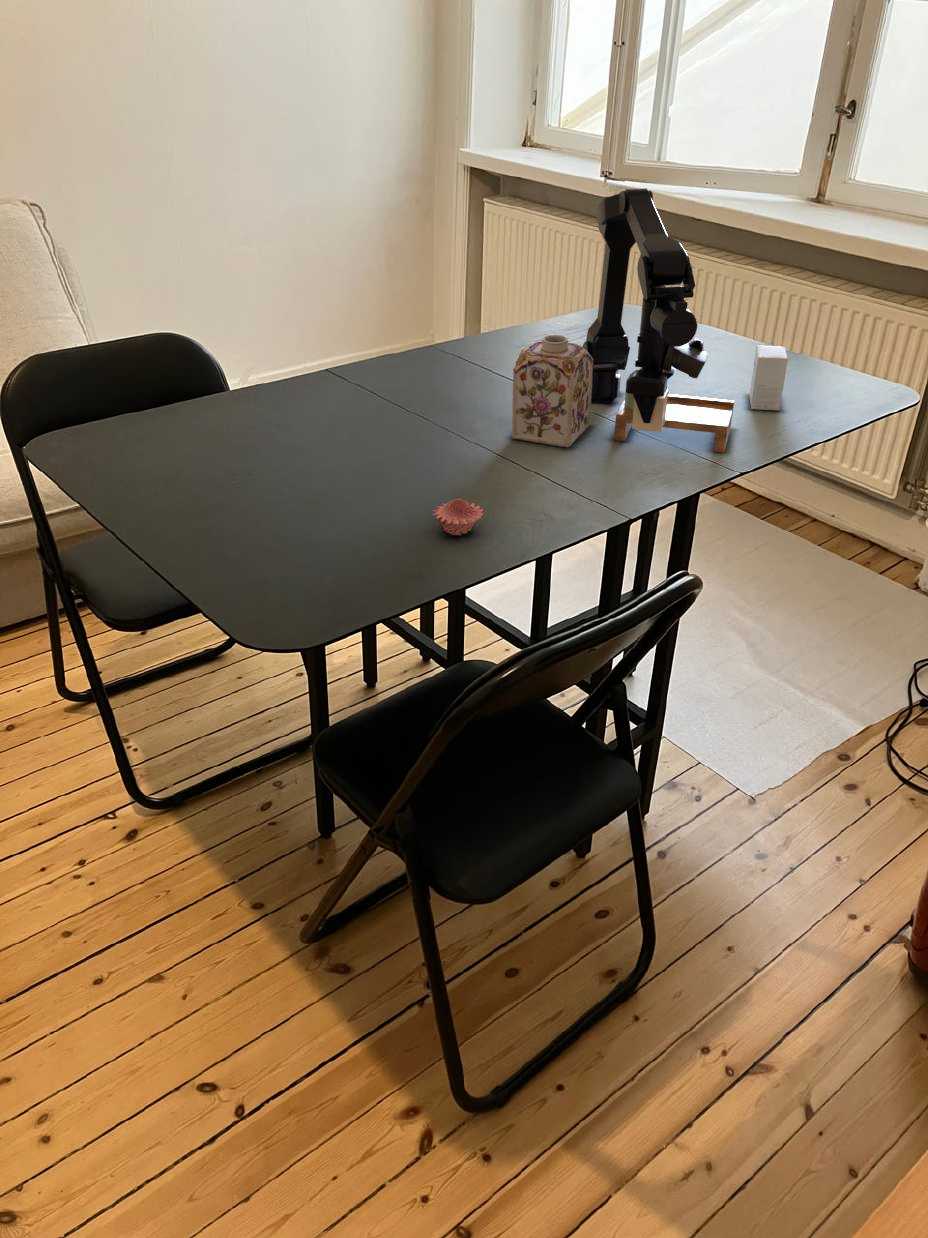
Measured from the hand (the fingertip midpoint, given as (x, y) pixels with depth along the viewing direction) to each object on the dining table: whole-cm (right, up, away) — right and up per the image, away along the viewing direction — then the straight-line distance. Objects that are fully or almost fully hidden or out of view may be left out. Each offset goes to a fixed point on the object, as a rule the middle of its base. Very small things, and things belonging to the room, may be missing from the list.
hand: (649, 417), depth 174 cm
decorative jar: (-16, 0, +15) cm, 22 cm away
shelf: (+7, -1, +13) cm, 15 cm away
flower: (-33, -22, -18) cm, 43 cm away
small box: (+28, +8, +27) cm, 39 cm away
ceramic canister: (0, +5, +13) cm, 13 cm away
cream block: (0, -1, +1) cm, 2 cm away
